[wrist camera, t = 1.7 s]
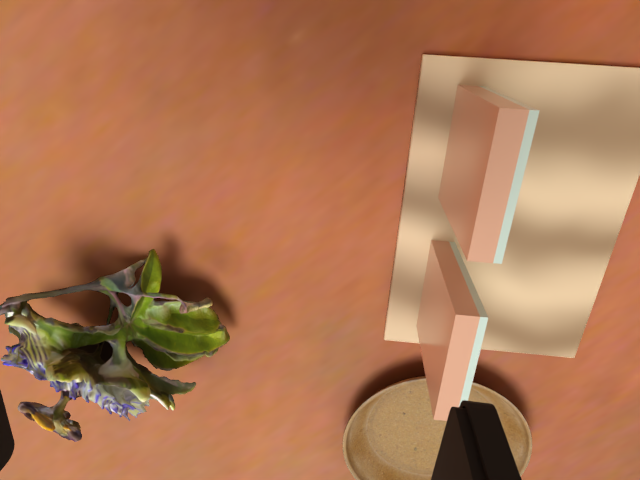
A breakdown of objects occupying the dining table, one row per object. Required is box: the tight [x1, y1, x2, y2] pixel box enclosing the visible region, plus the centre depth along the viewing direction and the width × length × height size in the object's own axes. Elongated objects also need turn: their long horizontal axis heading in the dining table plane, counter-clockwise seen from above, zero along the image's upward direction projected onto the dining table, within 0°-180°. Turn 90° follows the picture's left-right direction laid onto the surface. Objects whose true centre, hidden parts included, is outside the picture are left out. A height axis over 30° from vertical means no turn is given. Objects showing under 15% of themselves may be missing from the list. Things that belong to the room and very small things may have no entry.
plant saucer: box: [343, 376, 532, 480], centre depth 38 cm, size 15×15×3 cm
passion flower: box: [0, 249, 230, 442], centre depth 32 cm, size 13×12×14 cm
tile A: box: [438, 85, 540, 264], centre depth 24 cm, size 7×2×9 cm, turn 177°
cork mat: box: [384, 54, 640, 358], centre depth 30 cm, size 20×14×1 cm
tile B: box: [416, 240, 488, 421], centre depth 28 cm, size 7×2×9 cm, turn 177°
